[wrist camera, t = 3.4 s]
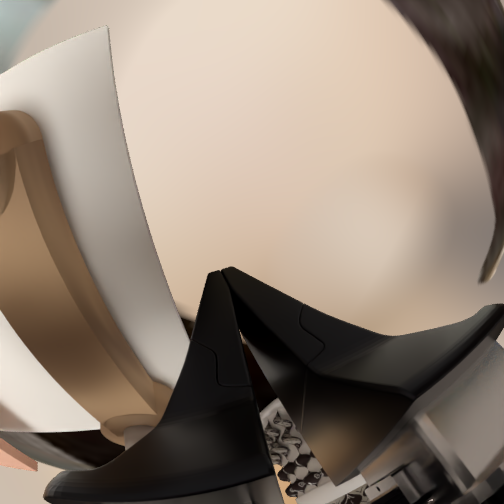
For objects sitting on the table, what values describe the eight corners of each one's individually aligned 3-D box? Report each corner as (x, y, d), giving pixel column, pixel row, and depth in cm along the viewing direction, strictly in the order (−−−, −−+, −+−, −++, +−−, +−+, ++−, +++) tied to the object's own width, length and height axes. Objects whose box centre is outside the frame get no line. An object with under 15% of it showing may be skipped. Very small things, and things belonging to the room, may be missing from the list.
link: (188, 411, 14) (201, 460, 11) (123, 424, 13) (128, 472, 10) (54, 85, 5) (-2, 74, 2) (-42, 143, 4) (-102, 169, 1)
